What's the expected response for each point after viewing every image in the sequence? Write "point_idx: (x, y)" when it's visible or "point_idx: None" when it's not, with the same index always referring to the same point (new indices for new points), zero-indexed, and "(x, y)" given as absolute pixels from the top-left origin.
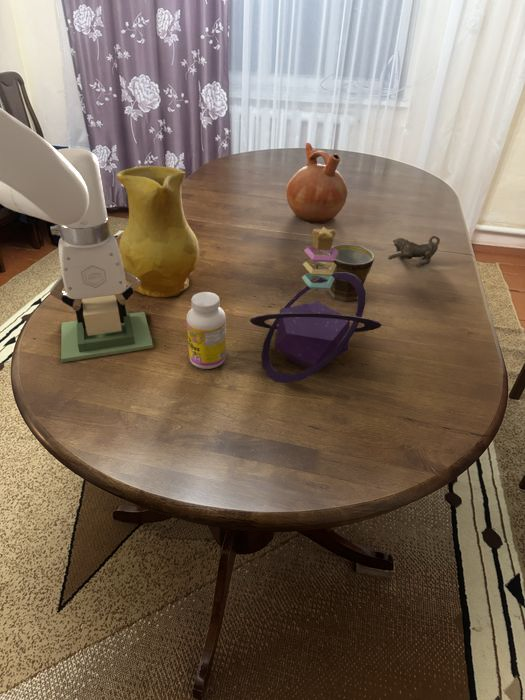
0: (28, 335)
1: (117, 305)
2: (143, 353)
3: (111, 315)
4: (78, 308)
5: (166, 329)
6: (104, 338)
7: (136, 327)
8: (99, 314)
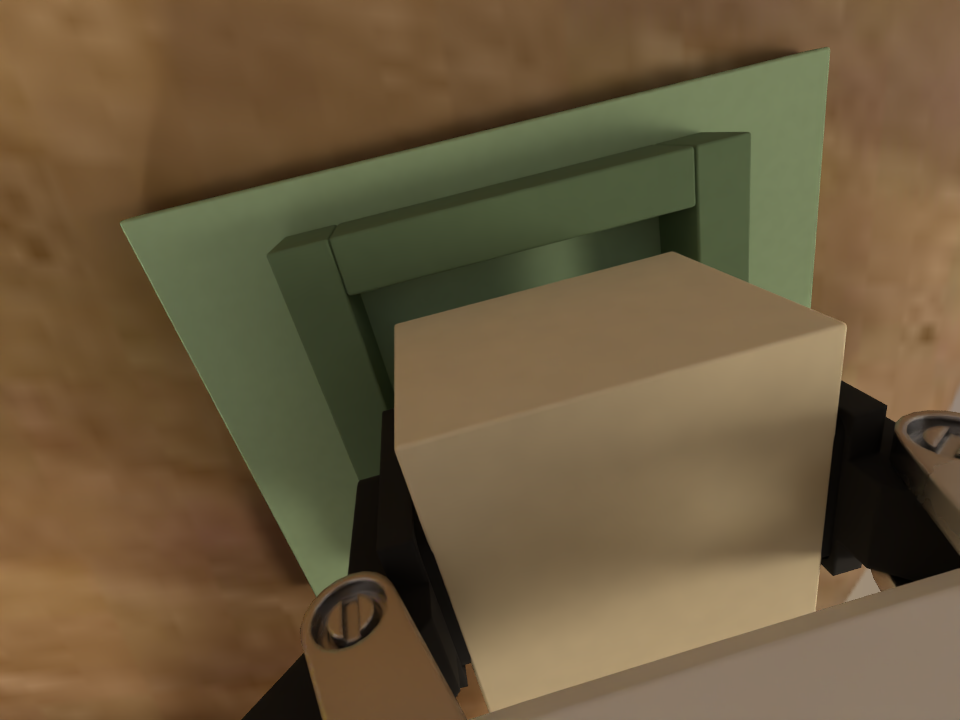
0: (953, 365)
1: (432, 553)
2: (199, 143)
3: (485, 387)
4: (905, 442)
5: (115, 454)
6: (532, 221)
7: (328, 444)
8: (639, 369)
